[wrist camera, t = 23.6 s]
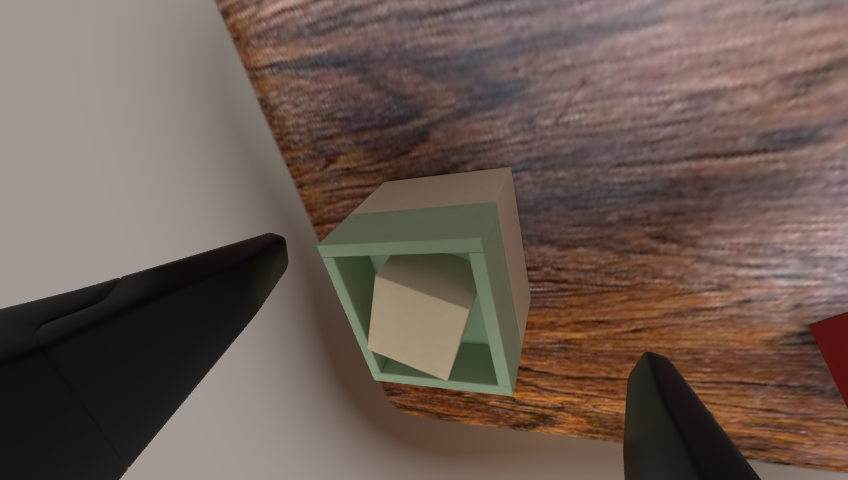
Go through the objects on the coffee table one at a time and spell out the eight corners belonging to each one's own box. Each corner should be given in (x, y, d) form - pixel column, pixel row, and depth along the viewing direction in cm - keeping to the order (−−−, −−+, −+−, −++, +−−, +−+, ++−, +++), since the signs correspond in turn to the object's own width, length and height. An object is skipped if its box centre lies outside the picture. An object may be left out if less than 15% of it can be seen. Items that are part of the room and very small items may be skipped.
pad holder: (383, 181, 22) (316, 245, 17) (511, 166, 19) (480, 237, 14) (419, 296, 26) (373, 380, 20) (531, 298, 23) (513, 397, 17)
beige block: (463, 335, 20) (447, 381, 18) (392, 307, 21) (366, 349, 18) (485, 266, 17) (469, 310, 15) (402, 238, 18) (374, 275, 16)
